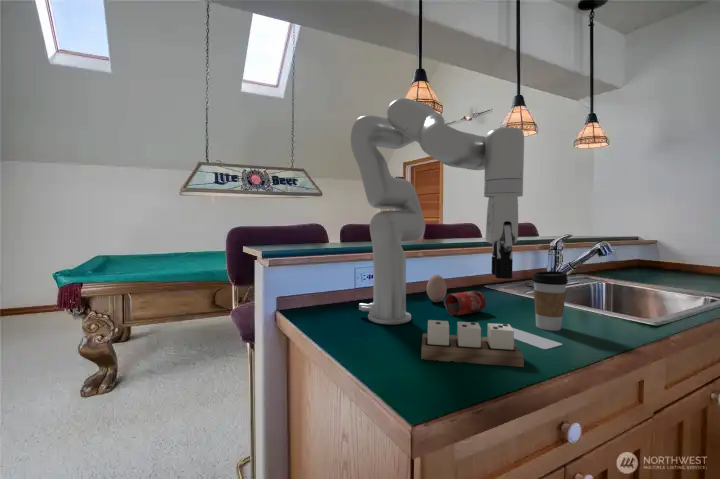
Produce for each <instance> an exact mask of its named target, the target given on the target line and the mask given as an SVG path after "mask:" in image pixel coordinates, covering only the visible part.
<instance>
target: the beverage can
mask: <svg viewBox="0 0 720 479" xmlns="http://www.w3.org/2000/svg"><path fill="white" fill-rule="evenodd" d="M443 305H444V307H445V310H446V312H447V313H448V314H449V315H450V316H453V317H455V316H456V317H457V316H462V315H467V314H474V313H479V312H481V311H482V310H484V309H485V308H486V306H487V300H486V297H485V296H484V294H483V293H482V292H481V291H476V290H470V291H464V292H463V291H461V292H456V293H448V294H446V296H445V297H444V299H443Z"/></svg>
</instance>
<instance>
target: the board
mask: <svg viewBox="0 0 720 479" xmlns="http://www.w3.org/2000/svg"><path fill="white" fill-rule="evenodd" d="M421 339H422V340H421V350H420V351H421V352H420V357H421V360H423V359H424V360H426V361H437V360H438V361H439V362H450V361H454V362H453V363H463V362H465V363H466V362H467V363H466V364H480V365H492V366H504V367H505V366H506V367H516V368H517V367H518V368H519V367H521V368H524V367H525V365H524V364H525V363H524V362H525V356H524V355H523V353H522V352H521V351H520V349H519V348H518V346H517V345H516V343H515V342H514V349H513V350H510V349H495V348H490V346H489V343H488V341H487V336H481V348H480V347H465V346H458V341H457V334H449V345H435V344H428V332H425V333H424V332H422V336H421Z"/></svg>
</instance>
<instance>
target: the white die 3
mask: <svg viewBox="0 0 720 479" xmlns="http://www.w3.org/2000/svg"><path fill="white" fill-rule="evenodd" d="M512 328H513V327H512V326H511V325H510V323H492V322H491V323H489V322H487V336H486V337H487V341H488V343H489V346H490V348H495V349H510V350H513V349H514V343H515V339H514V330H513V329H512Z"/></svg>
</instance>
